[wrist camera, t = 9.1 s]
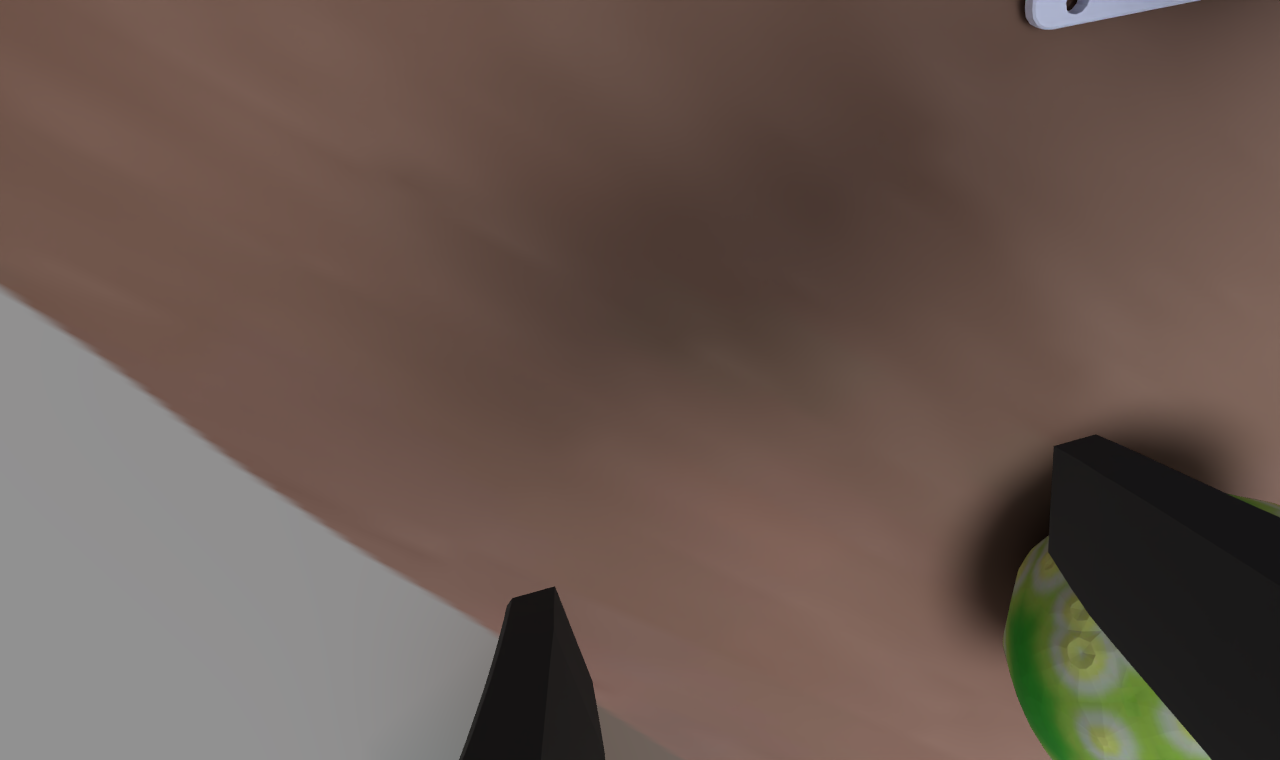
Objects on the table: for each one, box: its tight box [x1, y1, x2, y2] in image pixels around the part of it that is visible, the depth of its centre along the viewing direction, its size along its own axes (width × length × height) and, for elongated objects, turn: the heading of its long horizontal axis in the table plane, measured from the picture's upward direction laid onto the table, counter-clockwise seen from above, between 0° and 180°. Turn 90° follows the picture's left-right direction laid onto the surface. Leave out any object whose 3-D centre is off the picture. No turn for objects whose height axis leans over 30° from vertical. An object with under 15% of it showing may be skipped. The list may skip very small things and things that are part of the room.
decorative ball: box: [1003, 494, 1280, 760], centre depth 23 cm, size 10×10×10 cm
